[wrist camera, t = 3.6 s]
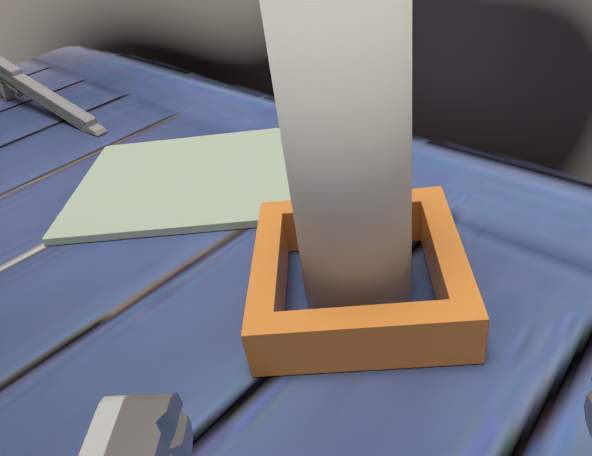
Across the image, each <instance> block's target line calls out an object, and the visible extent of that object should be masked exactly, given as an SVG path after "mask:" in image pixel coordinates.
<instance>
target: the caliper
mask: <svg viewBox="0 0 592 456" xmlns="http://www.w3.org/2000/svg"><path fill="white" fill-rule="evenodd" d="M14 92H15V93H16V94H17V95H18V96H19V97H20V96H23V95H26V96H28V97H29V98H31V99H33V100H34V101H36V102H37V103H39V104H40V105H42V106H43V107H45V108H47V109H48V110H50V111H51V112H53V113H54V114H56V115H57V116H59V117H60V118H62V119H63V120H65V121H67V122H68V123H70V124H71V125H73V126H74V127H76V128H77V129H79V130H80V131H83V132H85V133H88V134H93V135H94V136H96V137H98V136H100V135H102V134H105V133H107V130H106V129H105V127H103V126H101V125H100V124H98V123H97V119H96V118H95V117H94V116H92V115H90V114H89V113H87V112H85V111H84V110H82V109H81V108H79V107H77V106H76V105H74V104H72V103H71V102H69V101H68V100H66V99H64V98H63V97H61V96H59V95H58V94H56V93H54V92H53V91H51V90H50V89H48V88H46V87H45V86H43V85H41V84H40V83H38V82H36V81H35V80H33V79H31V78H30V77H28V76H27V75H25V74H23V73H22V70H21V69H20V68H19V67H17V66H16V65H14V64H12V63H11V62H9V61H8V60H6V59H4V58H3V57H1V56H0V98H1V97H3V98H4V101H8V100H11V99H13V98H15V94H14Z"/></svg>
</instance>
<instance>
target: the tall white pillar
mask: <svg viewBox="0 0 592 456" xmlns="http://www.w3.org/2000/svg"><path fill="white" fill-rule="evenodd" d="M259 1H260V8H261V14H262V20H263V26H264V33H265V40H266V46H267V52H268V58H269V64H270V71H271V77H272V84H273V90H274V96H275V103H276V109H277V115H278V122H279V128H280V134H281V141H282V147H283V153H284V160H285V166H286V172H287V178H288V185H289V191H290V197H291V204H292V210H293V216H294V223H295V229H296V235H297V242H298V248H299V254H300V261H301V267H302V273H303V279H304V286H305V292H306V298H307V303H308V306H309V308H310V309H319V308H333V307H347V306H361V305H375V304H389V303H403V302H410V300H411V295H412V0H259Z"/></svg>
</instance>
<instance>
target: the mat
mask: <svg viewBox="0 0 592 456" xmlns="http://www.w3.org/2000/svg"><path fill="white" fill-rule="evenodd" d="M285 200H291V197H290V191H289V185H288V178H287V172H286V166H285V160H284V153H283V147H282V141H281V134H280V128H273V129H264V130H254V131H245V132H235V133H226V134H217V135H207V136H198V137H188V138H179V139H170V140H160V141H151V142H141V143H132V144H122V145H113V146H106V147H105V148H104V149H103V151H102V152H101V154H100V155H99V157H98V158H97V160H96V161H95V163H94V164H93V166H92V167H91V168H90V170H89V171H88V173H87V174H86V176H85V177H84V179H83V180H82V182H81V183H80V184H79V186H78V187H77V189H76V190H75V192H74V193H73V195H72V196H71V198H70V199H69V200H68V202H67V203H66V205H65V206H64V208H63V209H62V211H61V212H60V214H59V215H58V216H57V218H56V219H55V221H54V222H53V224H52V225H51V227H50V228H49V230H48V231H47V232H46V234H45V235H44V237H43V238H42V241H43V243H44V245H45V246H51V245H62V244H73V243H85V242H96V241H108V240H119V239H130V238H142V237H153V236H165V235H176V234H187V233H199V232H210V231H222V230H233V229H244V228H256V227H257V226H258V220H259V213H260V206H261V203H264V202H275V201H285Z"/></svg>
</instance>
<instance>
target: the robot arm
mask: <svg viewBox="0 0 592 456" xmlns="http://www.w3.org/2000/svg"><path fill="white" fill-rule="evenodd" d="M591 380H592V378H591ZM181 408H182V401H181V399H180V397H179V395H178V393H170V394H143V395H118V396H104V398H103V399H102V400H101V401H100V403H99V404H98V406H97V409H96V411H95V414H94V416H93V419H92V421H91V424H90V427H89V429H88V432H87V434H86V437H85V439H84V442H83V444H82V447H81V449H80V452H79V455H78V456H191V454H192V446H193V432H192V426H191V422H190V420H189V417H188V416H187V415H185V414H184V413H182V412H181ZM584 410H585V420H586V423H587V427H588V430H589V433H590V435H591V437H592V391H591V392H589V393H588V394H587V395H586V400H585V404H584Z"/></svg>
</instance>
